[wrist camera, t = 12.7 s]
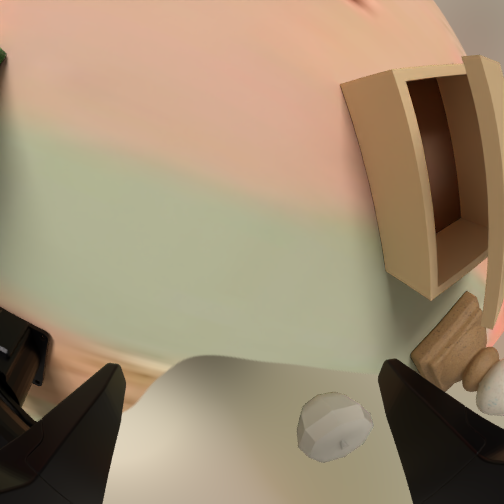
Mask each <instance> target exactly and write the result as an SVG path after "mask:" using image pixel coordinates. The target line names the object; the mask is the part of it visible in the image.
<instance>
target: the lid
mask: <svg viewBox="0 0 504 504" xmlns="http://www.w3.org/2000/svg"><path fill="white" fill-rule="evenodd" d="M462 60H463V63H464V66H465V70H466V73H467V77H468V80H469V84H470V87H471V91H472V95H473V99H474V104H475V108H476V113H477V118H478V123H479V128H480V134H481V140H482V146H483V153H484V161H485V170H486V181H487V194H488V220H489V239H488V265H487V279H486V289H485V298H484V306H483V313H482V320H481V326H482V327H485V328H489V329H492V330H493V328H494V325H495V322H496V320H497V317H498V314H499V311H500V308H501V305H502V302H503V299H504V77H503V74H502V70H501V67H500V63H499V62H497V61H494V60H491V59H489V58H486V57H484V56H481V55H474V56H463V57H462Z"/></svg>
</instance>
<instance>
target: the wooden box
mask: <svg viewBox="0 0 504 504" xmlns="http://www.w3.org/2000/svg"><path fill="white" fill-rule="evenodd" d="M430 78H436V79H437V83H438V86H439V90H440V93H441V97H442V101H443V105H444V109H445V113H446V117H447V121H448V126H449V131H450V136H451V141H452V146H453V152H454V158H455V165H456V172H457V179H458V188H459V198H460V210H461V218H460V219H459V220H457V221H455V222H454V223H452V224H451V225H449V226H447V227H446V228H444V229H443V230H441V231H439V232H438V233H436V234H435V223H434V213H433V205H432V197H431V190H430V183H429V177H428V171H427V166H426V160H425V155H424V150H423V145H422V141H421V136H420V132H419V128H418V123H417V119H416V116H415V112H414V108H413V104H412V101H411V97H410V94H409V91H408V87H407V84H406V82H409V81H416V80H423V79H430ZM340 86H341V88H342V91H343V94H344V97H345V100H346V103H347V106H348V109H349V112H350V115H351V119H352V122H353V125H354V128H355V132H356V135H357V139H358V142H359V146H360V149H361V153H362V157H363V160H364V164H365V168H366V172H367V176H368V180H369V184H370V189H371V193H372V198H373V202H374V207H375V212H376V217H377V222H378V227H379V232H380V238H381V243H382V249H383V255H384V262H385V269H386V272H388V273H389V274H391V275H393V276H394V277H396V278H397V279H399V280H400V281H402V282H403V283H405V284H406V285H408V286H409V287H411V288H412V289H414V290H415V291H417V292H418V293H420V294H421V295H423V296H424V297H426V298H427V299H429V300H430V301H431V300H433V299H434V298H435V297H437V296H438V295H440V294H441V293H442V292H444V291H445V290H446V289H448V288H449V287H450V286H452V285H453V284H454V283H456V282H457V281H458V280H460V279H461V278H462V277H463V276H465V275H466V274H467V273H468V272H470V271H471V270H472V269H473V268H475V267H476V266H477V265H478V264H480V263H481V262H482V261H483V260H484V259H485V258H487V257H488V239H489V220H488V194H487V181H486V170H485V161H484V153H483V146H482V140H481V134H480V128H479V123H478V118H477V113H476V108H475V104H474V99H473V95H472V91H471V87H470V84H469V80H468V77H467V73H466V70H465V66H464V64H444V65H430V66H419V67H409V68H400V69H393V70H388V71H384V72H381V73H377V74H373V75H370V76H366V77H363V78H359V79H356V80H352V81H349V82H346V83H343V84H340Z"/></svg>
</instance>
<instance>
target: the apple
mask: <svg viewBox="0 0 504 504" xmlns="http://www.w3.org/2000/svg"><path fill="white" fill-rule="evenodd" d="M373 426H374V424H373V421H372V417H371V414H370V412H368V411H367V410H366V409H365V408H364V407H363V406H362V405H361V404H359V403H358V402H356V401H354V400H353V399H352V398H350V397H349V396H347V395H344V394H341V393H338V392H330V393H325V394H320V395H317V396H315V397H314V398H313V399H311V400H310V401H308V402H307V403H306V404H305V405H304V406H303V408H302V412H301V415H300V418H299V423H298V427H297V437H298V447H299V448H300V449H301V450H302V451H303V452H304V453H305V454H306V455H307V456H308V457H309V458H312V459H314V460H317V461H319V462H328V461H331V460H335V459H338V458H342V457H345V456H346V455H348V454H349V453H351V452H352V451H354V450H355V449H357V448H358V447H359V446H361V445H362V444H364V442H365V441H366V439H367V437H368V435H369V434H370V432H371V430H372V428H373Z"/></svg>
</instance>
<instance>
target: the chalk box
mask: <svg viewBox="0 0 504 504" xmlns="http://www.w3.org/2000/svg"><path fill="white" fill-rule="evenodd" d="M5 57H6V53H5V52H4V51H3V50H2V49H1V48H0V64H1V63H2V61H3V60H4V58H5Z"/></svg>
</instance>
